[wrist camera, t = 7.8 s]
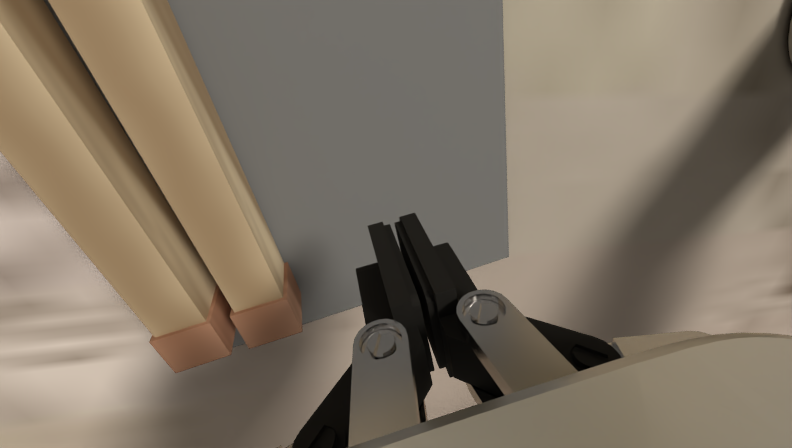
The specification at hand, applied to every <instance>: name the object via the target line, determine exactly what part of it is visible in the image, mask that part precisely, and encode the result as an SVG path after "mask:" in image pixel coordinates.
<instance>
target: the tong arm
mask: <svg viewBox="0 0 792 448" xmlns="http://www.w3.org/2000/svg"><path fill="white" fill-rule="evenodd" d="M48 1H49V3H50V4H51V6H52V8H53V9H54V11H55V13H56V15H57V16H58V18H59V20H60V21H61V23H62V25H63V26H64V28H65V30H66V31H67V33H68V35H69V36H70V38H71V40H72V41H73V43H74V45H75V46H76V48H77V50H78V51H79V53H80V55H81V56H82V58H83V60H84V61H85V63H86V65H87V66H88V68H89V70H90V71H91V73H92V75H93V77H94V78H95V80H96V82H97V83H98V85H99V87H100V88H101V90H102V92H103V93H104V95H105V97H106V98H107V100H108V102H109V103H110V105H111V107H112V108H113V110H114V112H115V113H116V115H117V117H118V118H119V120H120V122H121V123H122V125H123V127H124V128H125V130H126V132H127V133H128V135H129V137H130V138H131V140H132V142H133V144H134V145H135V147H136V149H137V150H138V152H139V154H140V155H141V157H142V159H143V160H144V162H145V164H146V165H147V167H148V169H149V170H150V172H151V174H152V175H153V177H154V179H155V180H156V182H157V184H158V185H159V187H160V189H161V190H162V192H163V194H164V195H165V197H166V199H167V200H168V202H169V204H170V206H171V207H172V209H173V211H174V212H175V214H176V216H177V217H178V219H179V221H180V222H181V224H182V226H183V227H184V229H185V231H186V232H187V234H188V236H189V237H190V239H191V241H192V242H193V244H194V246H195V247H196V249H197V251H198V252H199V254H200V256H201V257H202V259H203V261H204V262H205V264H206V266H207V268H208V269H209V271H210V273H211V274H212V276H213V278H214V279H215V281H216V283H217V284H218V286H219V288H220V289H221V291H222V293H223V294H224V296H225V298H226V299H227V301H228V303H229V304H230V306H231V313H230V318H231V320H232V321H233V323H234V325H235V326H236V328H237V330H238V331H239V333H240V334H241V336H242V338H243V339H244V341H245V343H246V344H247V346H248V347H249V349H250V348H253V347H257V346H260V345H263V344H266V343H269V342H272V341H275V340H278V339H281V338H284V337H288V336H291V335H294V334H297V333H300V332H302V306H301V292H300V289H299V287H298V285H297V282H296V280H295V278H294V276H293V273H292V271H291V269H290V266H289V264H288V262H286V263H284V262H283V259H282V257H281V255H280V253H279V250H278V248H277V246H276V244H275V241H274V239H273V237H272V235H271V232H270V230H269V228H268V226H267V223H266V221H265V219H264V217H263V214H262V212H261V210H260V208H259V205H258V203H257V201H256V199H255V196H254V194H253V192H252V190H251V187H250V185H249V183H248V181H247V178H246V176H245V174H244V172H243V169H242V167H241V165H240V163H239V160H238V158H237V156H236V154H235V151H234V149H233V147H232V145H231V142H230V140H229V138H228V136H227V133H226V131H225V129H224V127H223V124H222V122H221V120H220V118H219V115H218V113H217V111H216V109H215V106H214V104H213V102H212V100H211V97H210V95H209V93H208V91H207V88H206V86H205V84H204V82H203V79H202V77H201V75H200V73H199V70H198V68H197V66H196V64H195V61H194V59H193V57H192V55H191V52H190V50H189V48H188V46H187V43H186V41H185V39H184V37H183V34H182V32H181V30H180V28H179V25H178V23H177V21H176V19H175V16H174V14H173V12H172V10H171V7H170V5H169V3H168V1H167V0H48Z"/></svg>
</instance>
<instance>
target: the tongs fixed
mask: <svg viewBox="0 0 792 448" xmlns="http://www.w3.org/2000/svg"><path fill="white" fill-rule="evenodd" d="M0 151H1V153H2V154H3V155H4V156H5V157H6V159H7V160H8V161H9V162H10V163H11V165H12V166H13V167H14V168H15V169H16V171H17V172H18V173H19V174H20V175H21V177H22V178H23V179H24V180H25V181H26V183H27V184H28V185H29V186H30V187H31V189H32V190H33V191H34V192H35V194H36V195H37V196H38V197H39V198H40V200H41V201H42V202H43V203H44V204H45V206H46V207H47V208H48V209H49V210H50V212H51V213H52V214H53V215H54V216H55V218H56V219H57V220H58V221H59V222H60V224H61V225H62V226H63V227H64V228H65V230H66V231H67V232H68V233H69V235H70V236H71V237H72V238H73V239H74V241H75V242H76V243H77V244H78V245H79V247H80V248H81V249H82V250H83V251H84V253H85V254H86V255H87V256H88V257H89V259H90V260H91V261H92V262H93V263H94V265H95V266H96V267H97V268H98V269H99V271H100V272H101V273H102V274H103V276H104V277H105V278H106V279H107V280H108V282H109V283H110V284H111V285H112V286H113V288H114V289H115V290H116V291H117V292H118V294H119V295H120V296H121V297H122V298H123V300H124V301H125V302H126V303H127V304H128V306H129V307H130V308H131V309H132V310H133V312H134V313H135V314H136V315H137V317H138V318H139V319H140V320H141V321H142V323H143V324H144V325H145V326H146V327H147V329H148V330H149V331H150V332H151V333H152V337H151V340H150V344H151V345H152V346H153V347H154V348H155V350H156V351H157V352H158V353H159V354H160V355H161V357H162V358H163V359H164V360H165V361H166V362H167V364H168V365H169V366H170V367H171V368H172V370H173V371H174V372H175V373H178V372H181V371H184V370H187V369H190V368H193V367H196V366H199V365H202V364H205V363H208V362H211V361H214V360H217V359H220V358H223V357H226V356H229V355H231V353H232V347H233V342H234V336H235V330H236V326H235V325H234V323H233V321H232V320H231V318H230V313H231V306H230V304H229V303H228V301H227V299H226V298H225V296H224V294H223V293H222V291H221V289H220V288H219V286H218V284H217V283H216V281H215V279H214V278H213V276H212V274H211V273H210V271H209V269H208V268H207V266H206V264H205V263H204V261H203V259H202V258H201V256H200V255H199V253H198V251H197V250H196V248H195V246H194V245H193V243H192V242H191V240H190V238H189V237H188V235H187V233H186V232H185V230H184V228H183V227H182V225H181V224H180V222H179V220H178V219H177V217H176V215H175V214H174V212H173V211H172V209H171V207H170V206H169V204H168V202H167V201H166V199H165V197H164V196H163V194H162V193H161V191H160V189H159V188H158V186H157V184H156V183H155V181H154V180H153V178H152V176H151V175H150V173H149V171H148V170H147V168H146V167H145V165H144V163H143V162H142V160H141V158H140V157H139V155H138V153H137V152H136V150H135V149H134V147H133V145H132V144H131V142H130V140H129V139H128V137H127V136H126V134H125V132H124V131H123V129H122V127H121V126H120V124H119V122H118V121H117V119H116V118H115V116H114V114H113V113H112V111H111V109H110V108H109V106H108V105H107V103H106V101H105V100H104V98H103V96H102V95H101V93H100V92H99V90H98V88H97V87H96V85H95V83H94V82H93V80H92V78H91V77H90V75H89V74H88V72H87V70H86V69H85V67H84V65H83V64H82V62H81V61H80V59H79V57H78V56H77V54H76V52H75V51H74V49H73V47H72V46H71V44H70V43H69V41H68V39H67V38H66V36H65V34H64V33H63V31H62V30H61V28H60V26H59V25H58V23H57V21H56V20H55V18H54V17H53V15H52V13H51V12H50V10H49V8H48V7H47V5H46V3H45V2H44V0H0Z"/></svg>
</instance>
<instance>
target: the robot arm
mask: <svg viewBox="0 0 792 448" xmlns="http://www.w3.org/2000/svg"><path fill="white" fill-rule="evenodd" d="M788 45H789V56H790V59H791V62H792V18H791V22H790V29H789V38H788ZM399 219H400V221H398V222H395V228H396V232H397V237H398V241H399V246H400V248H399V246H398V243H397V241H396V238H395V236H394V233H393V231H392V228H391V225H390V224H387V225H384V224H383V222H379V223H375V224H372V225H368V230H369V233H370V237H371V241H372V244H373V248H374V251H375V255H376V259H377V262H376V263H373V264H370V265H366V266H363V267H359V268H356V275H357V280H358V285H359V291H360V296H361V302H362V307H363V312H364V318H365V323H366V325H365V326H364V327H363V328H362V329H361V330H360V331H359V332H358V334H357V335H356V337H355V339H354V344H353V358H352V364H351V365H350V367H349V368H348V369H347V371H346V372H345V373H344V375H343V376H342V377H341V378H340V380H339V381H338V382H337V384H336V385H335V386H334V388H333V389H332V390H331V391H330V393H329V394H328V395H327V397H326V398H325V399H324V401H323V402H322V403H321V404H320V406H319V407H318V408H317V410H316V411H315V412H314V414H313V415H312V416H311V417H310V419H309V420H308V421H307V423H306V424H305V425H304V427H303V428H302V429H301V431H300V432H299V434H298V435H297V437H296V439H295V440H294V443H293V444H291V445H289V446H287V447H286V448H792V336H789V335H781V334H771V333H729V334H717V335H710V334H707V333H703V332H700V331H682V332H671V333H661V334H650V335H640V336H629V337H619V338H613V341H612V342H610V343H606V342H605V341H603V340H600V339H598V338H596V337H593V336H589V335H586V334H583V333H579V332H576V331H572V330H569V329H566V328H562V327H559V326H555V325H552V324H549V323H545V322H542V321H538V320H535V319H532V318H528V317H525V316H524V315H523V314H522V313H521V312H520V311H519V310H518V309H517V308H516V307H515V306H514V305H513V304H512V303H511V302H510V301H509V300H508V299H507V298H506V297H504V296H503V295H502V294H500V293H498V292H495V291H491V290H477V288H476V287H475V285H474V283H473V282H472V280H471V278H470V277H469V275H468V274H467V272H466V270H465V269H464V267H463V266H462V264H461V262H460V261H459V259H458V257H457V256H456V254H455V253H454V251H453V249H452V248H451V246H450V245H449V243H447V242H446V243H443V244H439V245H436V246H433V245H432V243H431V241H430V239H429V238H428V236H427V234H426V232H425V230H424V228H423V227H422V225H421V223H420V221H419V219H418V217H417V215H416V214H415V213H411V214H408V215H404V216H401V217H399ZM400 250H401V251H400ZM428 339H429V342H430V345H431V347H432V350H433V353H434V355H435V358H436V361H437V364H438V366H439V368H440V369H441V368H444V367H446V369H447V371H448V374H449V377H453V376H454V378H456V379H459V380H461V381H463V382H466V385H467V387H468V390H469V392H470V393H471V395H472V397H473V398H474V400H475V401H476V403H477V405H475V406H472V407H469V408H465V409H462V410H459V411H456V412H453V413H450V414H447V415H444V416H441V417H438V418H435V419H432V420H429V421H428V419H427V412H426V405H425V401H424V399H425V397H426V395H427V393H428V392H429V390H430V388H431V386H432V379H431V375H430V372H431V371H434V366H433V361H432V356H431V352H430V347H429V342H428ZM277 448H282V446H281V445H280V446H279V447H277Z"/></svg>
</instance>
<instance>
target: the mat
mask: <svg viewBox="0 0 792 448" xmlns="http://www.w3.org/2000/svg"><path fill="white" fill-rule="evenodd" d="M167 1H168V3H169V5H170V7H171V10H172V12H173V14H174V16H175V19H176V21H177V23H178V25H179V28H180V30H181V32H182V34H183V37H184V39H185V41H186V43H187V46H188V48H189V50H190V52H191V55H192V57H193V59H194V61H195V64H196V66H197V68H198V70H199V73H200V75H201V77H202V79H203V82H204V84H205V86H206V88H207V91H208V93H209V95H210V97H211V100H212V102H213V104H214V106H215V109H216V111H217V113H218V115H219V118H220V120H221V122H222V124H223V127H224V129H225V131H226V133H227V136H228V138H229V140H230V142H231V145H232V147H233V149H234V151H235V154H236V156H237V158H238V160H239V163H240V165H241V167H242V169H243V172H244V174H245V176H246V178H247V181H248V183H249V185H250V187H251V190H252V192H253V194H254V196H255V199H256V201H257V203H258V205H259V208H260V210H261V212H262V214H263V217H264V219H265V221H266V223H267V226H268V228H269V230H270V232H271V235H272V237H273V239H274V241H275V244H276V246H277V248H278V250H279V253H280V255H281V257H282V259H283V262H284V263H286V262H288V264H289V266H290V269H291V271H292V273H293V276H294V278H295V280H296V282H297V285H298V287H299V289H300V292H301V306H302V325H303V324H306V323H309V322H312V321H315V320H318V319H321V318H324V317H327V316H330V315H333V314H336V313H339V312H342V311H345V310H348V309H351V308H354V307H357V306H361V305H362V302H361V296H360V291H359V285H358V280H357V275H356V268H359V267H363V266H366V265H370V264H373V263H376V262H377V259H376V255H375V251H374V248H373V244H372V241H371V237H370V233H369V230H368V225H372V224H375V223H379V222H383V224H384V225H387V224H390V225H391V228H392V231H393V233H394V236H395V238H396V241H397V243H398V246H399V241H398V237H397V232H396V228H395V222H398V221H400V219H399V217H401V216H404V215H408V214H411V213H415V214H416V215H417V217H418V219H419V221H420V223H421V225H422V227H423V228H424V230H425V232H426V234H427V236H428V238H429V239H430V241H431V243H432V245H433V246H436V245H439V244H443V243H446V242H447V243H449V245H450V246H451V248H452V249H453V251H454V253H455V254H456V256H457V257H458V259H459V261H460V262H461V264H462V266H463V267H464V269H465V270H466V271H467V270H470V269H473V268H476V267H479V266H482V265H485V264H488V263H491V262H494V261H497V260H500V259H504V258H507V257H509V247H508V206H507V165H506V124H505V83H504V42H503V1H502V0H167ZM44 2H45V3H46V5H47V7H48V8H49V10H50V12H51V13H52V15H53V17H54V18H55V20H56V21H57V23H58V25H59V26H60V28H61V30H62V31H63V33H64V34H65V36H66V38H67V39H68V41H69V43H70V44H71V46H72V47H73V49H74V51H75V52H76V54H77V56H78V57H79V59H80V61H81V62H82V64H83V65H84V67H85V69H86V70H87V72H88V74H89V75H90V77H91V78H92V80H93V82H94V83H95V85H96V87H97V88H98V90H99V92H100V93H101V95H102V96H103V98H104V100H105V101H106V103H107V105H108V106H109V108H110V109H111V111H112V113H113V114H114V116H115V118H116V119H117V121H118V122H119V124H120V126H121V127H122V129H123V131H124V132H125V134H126V136H127V137H128V139H129V140H130V142H131V144H132V145H133V147H134V149H135V150H136V152H137V153H138V155H139V157H140V158H141V160H142V162H143V163H144V165H145V167H146V168H147V170H148V171H149V173H150V175H151V176H152V178H153V180H154V181H155V183H156V184H157V182H156V180H155V179H154V177H153V175H152V174H151V172H150V170H149V169H148V167H147V165H146V164H145V162H144V160H143V159H142V157H141V155H140V154H139V152H138V150H137V149H136V147H135V145H134V144H133V142H132V140H131V138H130V137H129V135H128V133H127V132H126V130H125V128H124V127H123V125H122V123H121V122H120V120H119V118H118V117H117V115H116V113H115V112H114V110H113V108H112V107H111V105H110V103H109V102H108V100H107V98H106V97H105V95H104V93H103V92H102V90H101V88H100V87H99V85H98V83H97V82H96V80H95V78H94V77H93V75H92V73H91V71H90V70H89V68H88V66H87V65H86V63H85V61H84V60H83V58H82V56H81V55H80V53H79V51H78V50H77V48H76V46H75V45H74V43H73V41H72V40H71V38H70V36H69V35H68V33H67V31H66V30H65V28H64V26H63V25H62V23H61V21H60V20H59V18H58V16H57V15H56V13H55V11H54V9H53V8H52V6H51V4H50V3H49V1H48V0H44ZM157 186H158V188H159V189H160V187H159V185H158V184H157ZM160 191H161V193H162V194H163V192H162V190H161V189H160ZM163 196H164V197H165V195H164V194H163ZM165 199H166V197H165ZM166 201H167V202H168V200H167V199H166ZM168 204H169V202H168ZM169 206H170V204H169ZM170 207H171V206H170ZM171 209H172V207H171ZM172 211H173V209H172ZM173 212H174V211H173ZM174 214H175V212H174ZM175 215H176V214H175ZM176 217H177V216H176ZM177 219H178V217H177ZM178 220H179V219H178ZM179 222H180V221H179ZM180 224H181V222H180ZM181 225H182V224H181ZM182 227H183V226H182ZM183 228H184V227H183ZM184 230H185V229H184ZM185 232H186V231H185ZM186 233H187V232H186ZM187 235H188V234H187ZM188 237H189V236H188ZM189 238H190V237H189ZM190 240H191V239H190ZM191 242H192V241H191ZM192 243H193V242H192ZM193 245H194V244H193ZM195 248H196V247H195ZM399 248H400V246H399ZM196 250H197V249H196ZM400 251H401V250H400ZM198 253H199V252H198ZM199 255H200V254H199ZM201 258H202V257H201ZM204 263H205V262H204ZM242 344H245V341H244V339H243V338H242V336H241V334H240V333H239V331H238V330H237V328H236V330H235V336H234V342H233V347H236V346H239V345H242ZM233 347H232V348H233Z"/></svg>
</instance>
